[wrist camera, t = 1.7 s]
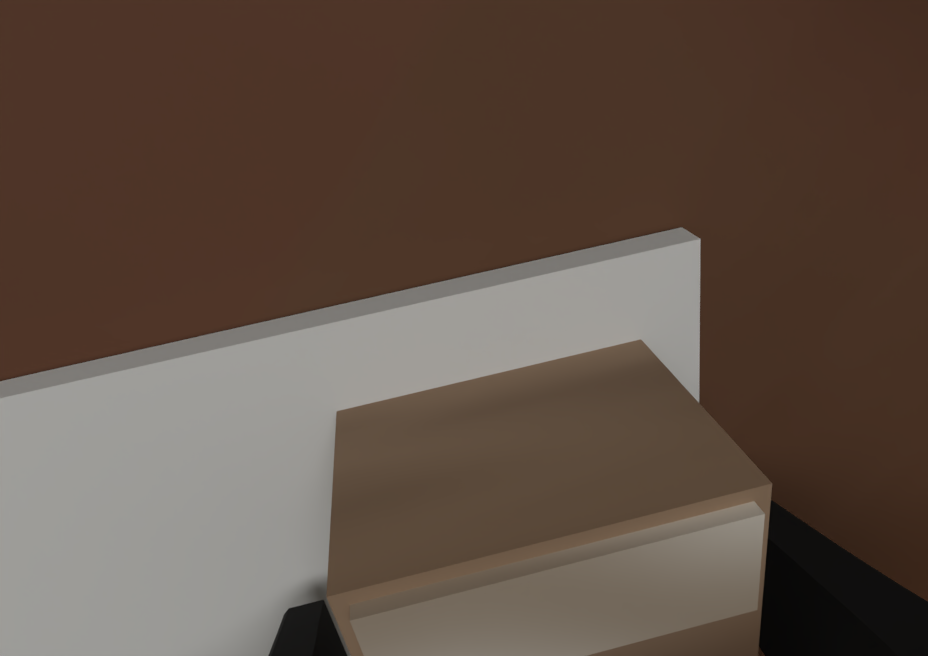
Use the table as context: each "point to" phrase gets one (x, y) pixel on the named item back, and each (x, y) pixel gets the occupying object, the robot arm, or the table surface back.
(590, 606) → the brown rectangular block
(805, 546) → the robot arm
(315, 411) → the grey mat
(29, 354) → the table surface
